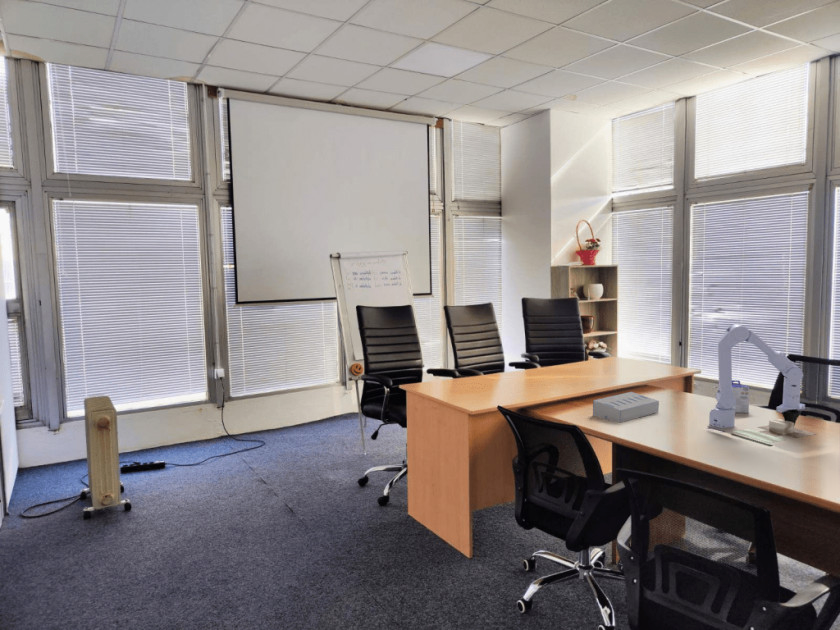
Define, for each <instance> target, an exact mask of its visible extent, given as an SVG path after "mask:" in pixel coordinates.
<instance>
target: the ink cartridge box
mask: <svg viewBox="0 0 840 630" xmlns="http://www.w3.org/2000/svg"><path fill="white" fill-rule="evenodd" d="M732 388H733V395H734V397H735V399H736V404H735V406H734V407H735V413H740V414H742V413H743V414H744V413H746V414H748V413H749V410H750V409H749V408H750V387H749V386H748V385H745V384H744V385H743V384H742V385H741V381H740V380H735V379H734V380H733V379H732Z"/></svg>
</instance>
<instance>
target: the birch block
mask: <svg viewBox="0 0 840 630" xmlns="http://www.w3.org/2000/svg"><path fill="white" fill-rule="evenodd" d="M768 425H769V431H773V432H777V433H780V434H788V433H793V432H794V428H795V425H794V423H793V422H789V421H785V420H784V419H780V418H778V419H771V420H769V422H768Z"/></svg>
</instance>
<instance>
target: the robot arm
mask: <svg viewBox="0 0 840 630" xmlns="http://www.w3.org/2000/svg"><path fill="white" fill-rule="evenodd" d="M742 342H746V343H750V344H753V345H754V346H755V347H756V348H758V349H759V350H760V351H761V352H762V353H763V354H765V356H767V362H769V363H770V364H771V365H772V366H774V368H776V370H777V371H778V372H780V373H781V374H782V375H783V376H784V377H783V388H782V390H783V392H782V404H780V405H779V406H776V410H775V411H776V412H778V413H781V414H782V417H783V420H785V421H789V422H793V423H794V426H796V422H797V420H798V418H799V416H800V415H801V414H802V411H801V410H805V409H806V404H804V403H800V401H801V380H802V379H803V378H804V373H803V370H802V369H801V368H800V367H798V366H797V365H796V363H795V361H792V360H790V359H789V358H788V357H787V356H786V353H784V352H783V351H779V350H774V349H773V348H772V347H770V346H769V345H768V344H767V343H766V342H765V341H764V340H763V339H762V338H761V337H760V336H758V334H756V333H754V332H753V331H752V330H750V329H748V327H746V326H744V325H742V324H740V323H734V324H732V325H730V326H729V327H728V328H726V329H725V331H724V333H723V335H722V336H721V337H720V339H719V340H718V342H717V355H718V357H717V358H718V361H717V363H718V365H717V366H718V386H717V392H716V394H715V400H716V402H717V403H716V404H715V407H714V408H713V409H711V410H710V412H709V420H708V421H709V424H708V425H707V428H710V429H712V430H715V431H716V430H717V431H720V432H722V433H723V432H724V433H725V432H726V431H725V430H723V429H726V428H734V427H735V420H736V419H735V418H736V412H735V407H734V406H735V404H736V399H735V397H734V395H733V388H732V380H733V378H732V377H733V374H732V373H733V371H732V368H733V366H732V364H733V363H732V349H733V347H735V346H736V345H737V344H739V343H742ZM718 428H719V429H718Z"/></svg>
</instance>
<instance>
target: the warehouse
mask: <svg viewBox="0 0 840 630" xmlns="http://www.w3.org/2000/svg"><path fill="white" fill-rule="evenodd" d="M659 405H660V404H659V400H657V399H653V398H651V397H648V396H644V395H642V394H639V393H636V392H634V391H629V392H625V393H620V394H615V395H610V396H607V397H603V398H598V399H593V400H592V416H593V417H597V418H601V419H604V420H608V421H613V422H617V423H623V422H627V421H631V420H633V419H637V418H641V417H644V416H649V415H652V414H656V413H659Z"/></svg>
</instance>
